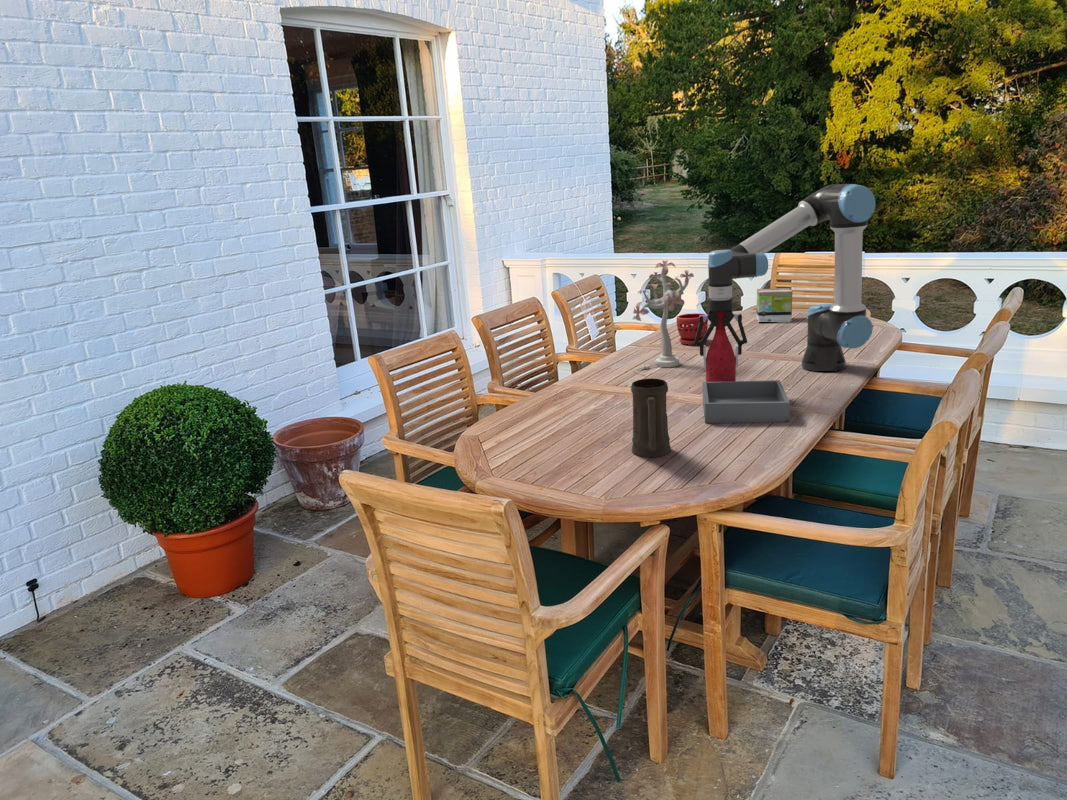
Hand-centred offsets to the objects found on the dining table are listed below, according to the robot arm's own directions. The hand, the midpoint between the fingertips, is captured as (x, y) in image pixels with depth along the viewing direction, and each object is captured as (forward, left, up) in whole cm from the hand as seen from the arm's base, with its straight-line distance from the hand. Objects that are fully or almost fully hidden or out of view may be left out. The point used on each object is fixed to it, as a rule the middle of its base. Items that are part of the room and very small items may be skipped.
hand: (720, 364), depth 268 cm
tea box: (-30, -116, -10) cm, 120 cm away
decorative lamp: (+20, -38, -10) cm, 44 cm away
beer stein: (+21, +58, -10) cm, 62 cm away
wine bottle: (0, 0, -10) cm, 10 cm away
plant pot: (+8, -76, -10) cm, 77 cm away
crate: (-6, +20, -10) cm, 23 cm away
